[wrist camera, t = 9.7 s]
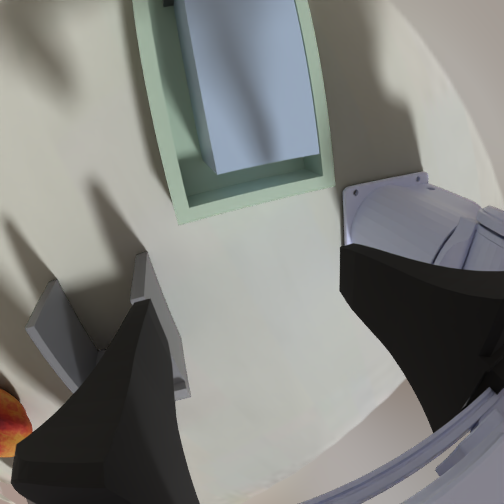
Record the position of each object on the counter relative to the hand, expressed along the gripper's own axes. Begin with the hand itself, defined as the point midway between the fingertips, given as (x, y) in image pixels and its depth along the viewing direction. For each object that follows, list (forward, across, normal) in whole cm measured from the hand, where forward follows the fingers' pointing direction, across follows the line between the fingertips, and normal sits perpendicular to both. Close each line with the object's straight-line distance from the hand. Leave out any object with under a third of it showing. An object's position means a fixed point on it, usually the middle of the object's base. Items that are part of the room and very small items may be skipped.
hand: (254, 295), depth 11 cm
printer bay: (+10, +9, +6) cm, 14 cm away
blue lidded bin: (+9, -2, -9) cm, 13 cm away
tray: (+10, -2, -9) cm, 13 cm away
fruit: (+10, +27, +13) cm, 32 cm away
